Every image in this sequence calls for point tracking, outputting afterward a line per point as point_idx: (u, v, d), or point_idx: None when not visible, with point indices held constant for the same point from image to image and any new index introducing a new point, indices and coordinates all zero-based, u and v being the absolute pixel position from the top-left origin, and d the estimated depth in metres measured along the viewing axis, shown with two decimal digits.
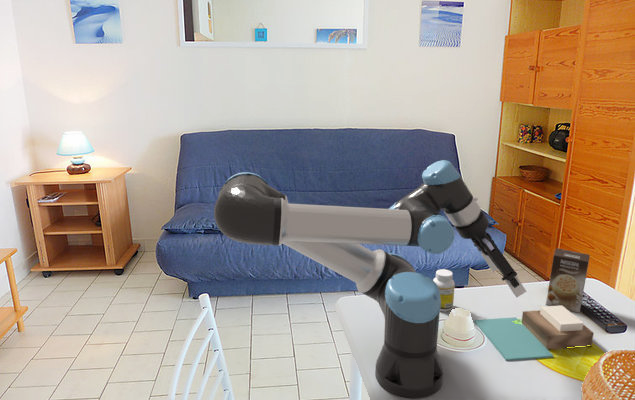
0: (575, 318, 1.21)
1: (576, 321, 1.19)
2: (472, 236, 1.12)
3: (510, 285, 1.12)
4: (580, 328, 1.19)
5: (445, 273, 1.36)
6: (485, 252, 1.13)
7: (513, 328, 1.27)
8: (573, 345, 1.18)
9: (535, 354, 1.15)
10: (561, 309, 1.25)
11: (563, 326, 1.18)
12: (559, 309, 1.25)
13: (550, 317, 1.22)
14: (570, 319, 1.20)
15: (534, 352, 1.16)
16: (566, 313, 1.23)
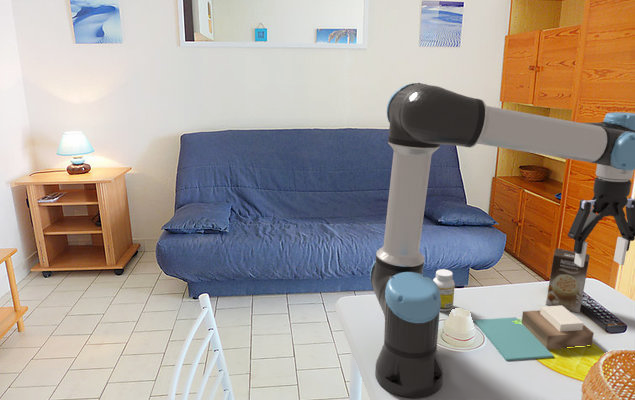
0: (575, 318, 1.21)
1: (576, 321, 1.19)
2: (593, 189, 1.16)
3: None
4: (580, 328, 1.19)
5: (445, 273, 1.36)
6: (590, 212, 1.17)
7: (513, 328, 1.27)
8: (573, 345, 1.18)
9: (535, 354, 1.15)
10: (561, 309, 1.25)
11: (563, 326, 1.18)
12: (559, 309, 1.25)
13: (550, 317, 1.22)
14: (570, 319, 1.20)
15: (534, 352, 1.16)
16: (566, 313, 1.23)
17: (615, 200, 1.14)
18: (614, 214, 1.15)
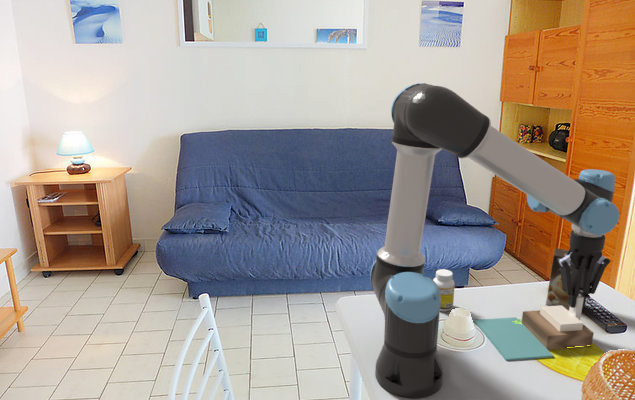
0: (575, 318, 1.21)
1: (576, 321, 1.19)
2: (569, 242, 1.19)
3: None
4: (580, 328, 1.19)
5: (445, 273, 1.36)
6: (572, 266, 1.20)
7: (513, 328, 1.27)
8: (573, 345, 1.18)
9: (535, 354, 1.15)
10: (561, 309, 1.25)
11: (563, 326, 1.18)
12: (559, 309, 1.25)
13: (550, 317, 1.22)
14: (569, 319, 1.20)
15: (534, 352, 1.16)
16: (566, 313, 1.23)
17: None
18: None
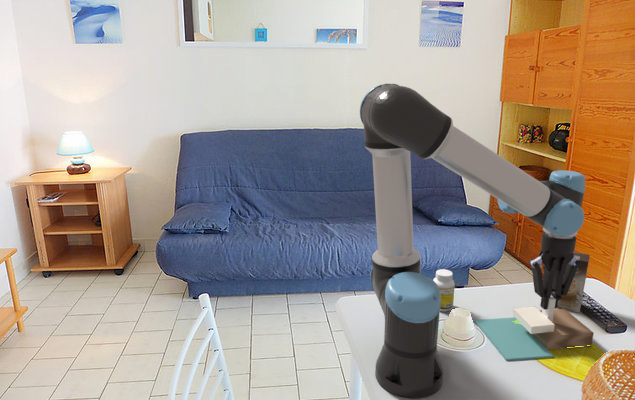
0: (547, 319, 1.20)
1: (547, 323, 1.19)
2: (541, 243, 1.18)
3: None
4: (551, 330, 1.18)
5: (445, 273, 1.36)
6: (544, 267, 1.20)
7: (513, 328, 1.27)
8: (573, 345, 1.18)
9: (535, 354, 1.15)
10: (533, 311, 1.24)
11: (534, 328, 1.18)
12: (531, 311, 1.24)
13: (522, 319, 1.22)
14: (541, 321, 1.19)
15: (534, 352, 1.16)
16: (538, 315, 1.22)
17: None
18: None
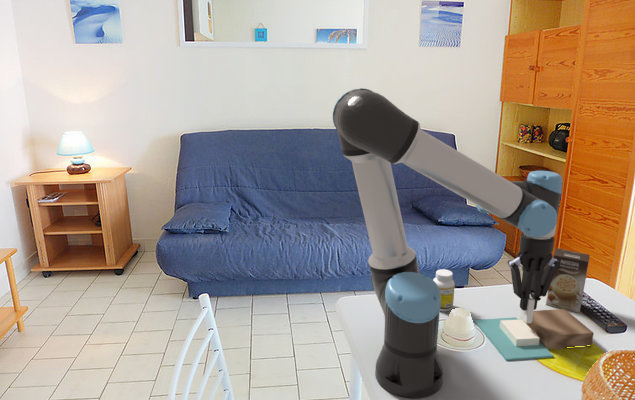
0: (532, 333, 1.21)
1: (532, 336, 1.19)
2: None
3: None
4: (536, 343, 1.19)
5: (445, 273, 1.36)
6: (523, 268, 1.19)
7: None
8: (573, 345, 1.18)
9: (535, 354, 1.15)
10: (520, 323, 1.25)
11: (519, 341, 1.18)
12: (518, 323, 1.25)
13: (508, 331, 1.22)
14: (526, 334, 1.20)
15: (534, 352, 1.16)
16: (524, 327, 1.23)
17: None
18: None
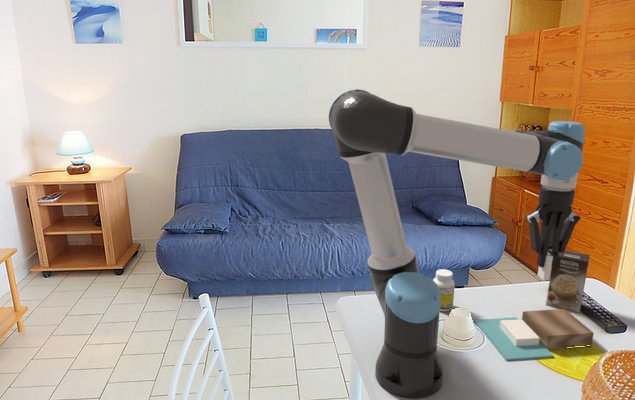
0: (532, 333, 1.21)
1: (532, 336, 1.19)
2: (538, 198, 1.15)
3: None
4: (536, 343, 1.19)
5: (445, 273, 1.36)
6: (541, 223, 1.16)
7: None
8: (573, 345, 1.18)
9: (535, 354, 1.15)
10: (520, 323, 1.25)
11: (519, 341, 1.18)
12: (518, 323, 1.25)
13: (508, 331, 1.22)
14: (526, 334, 1.20)
15: (534, 352, 1.16)
16: (524, 327, 1.23)
17: None
18: None
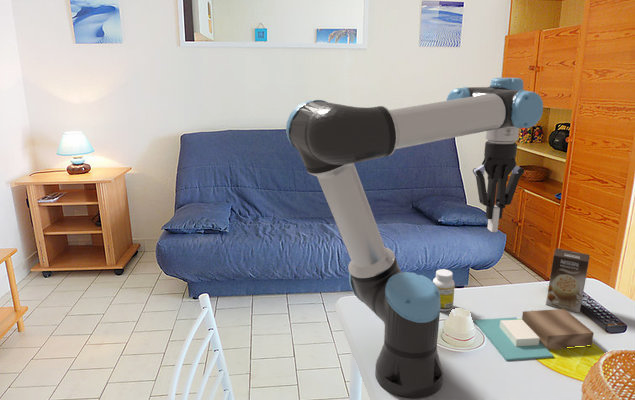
0: (532, 333, 1.21)
1: (532, 336, 1.19)
2: (484, 152, 1.20)
3: None
4: (536, 343, 1.19)
5: (445, 273, 1.36)
6: (488, 177, 1.22)
7: None
8: (573, 345, 1.18)
9: (535, 354, 1.15)
10: (520, 323, 1.25)
11: (519, 341, 1.18)
12: (518, 323, 1.25)
13: (508, 331, 1.22)
14: (526, 334, 1.20)
15: (534, 352, 1.16)
16: (524, 327, 1.23)
17: None
18: None
